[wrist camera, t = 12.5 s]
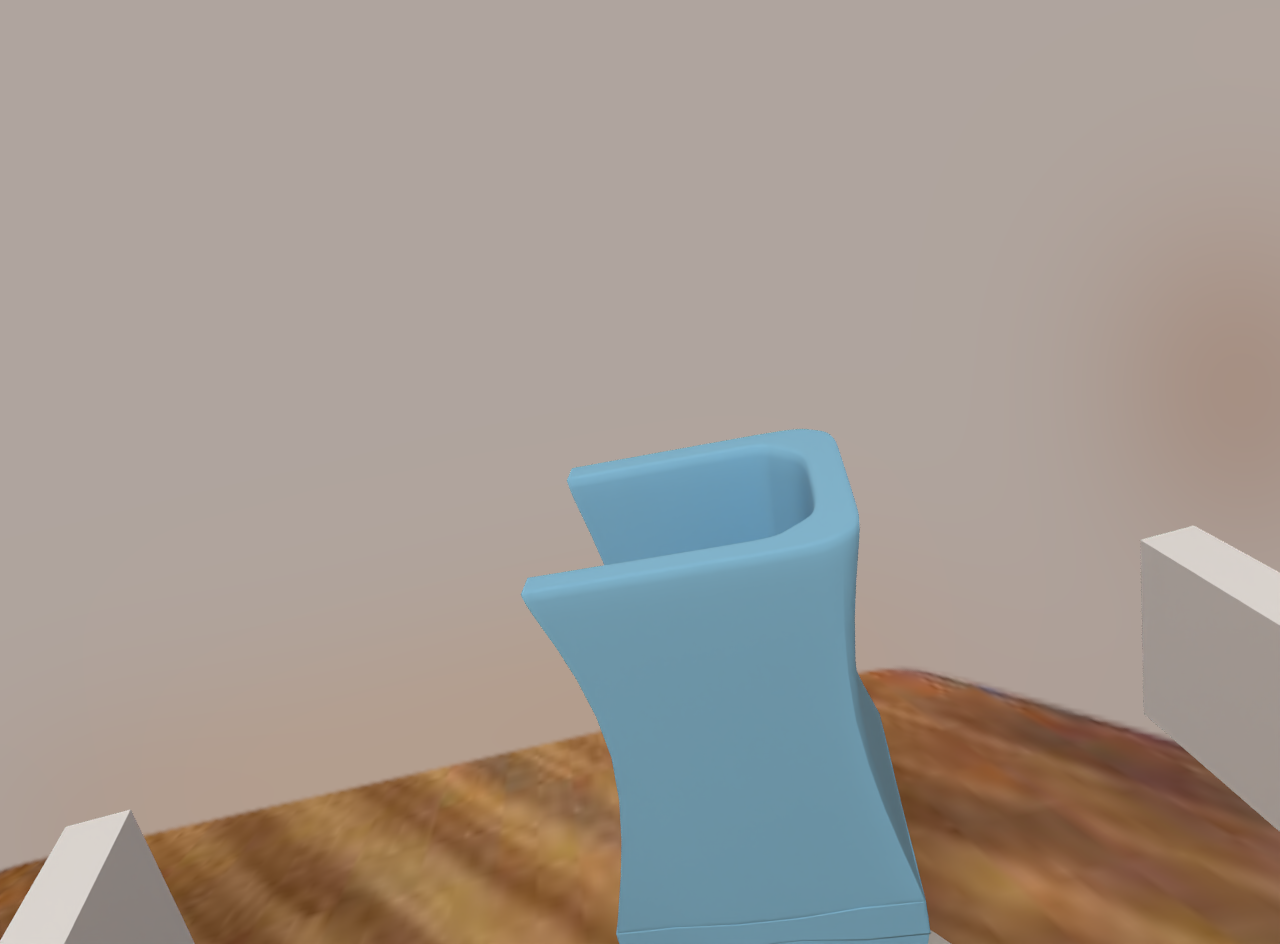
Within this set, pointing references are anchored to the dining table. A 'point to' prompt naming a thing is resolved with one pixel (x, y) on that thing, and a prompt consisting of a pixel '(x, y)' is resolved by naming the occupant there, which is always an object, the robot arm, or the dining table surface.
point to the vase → (736, 697)
